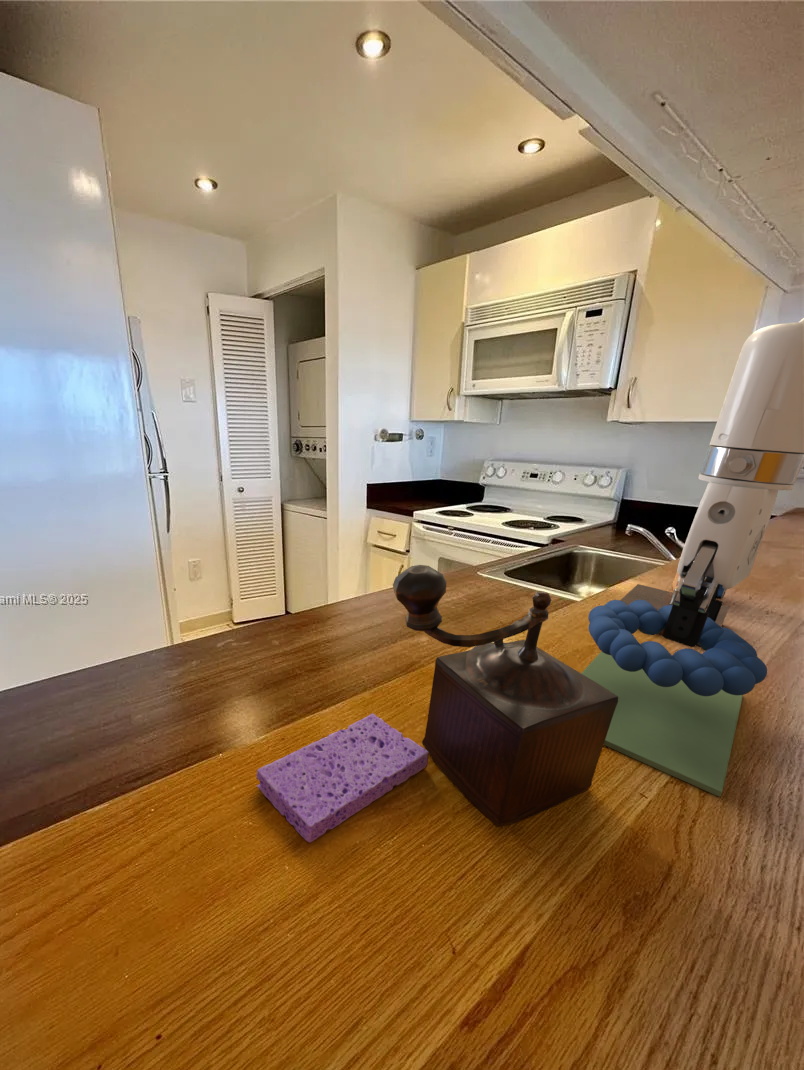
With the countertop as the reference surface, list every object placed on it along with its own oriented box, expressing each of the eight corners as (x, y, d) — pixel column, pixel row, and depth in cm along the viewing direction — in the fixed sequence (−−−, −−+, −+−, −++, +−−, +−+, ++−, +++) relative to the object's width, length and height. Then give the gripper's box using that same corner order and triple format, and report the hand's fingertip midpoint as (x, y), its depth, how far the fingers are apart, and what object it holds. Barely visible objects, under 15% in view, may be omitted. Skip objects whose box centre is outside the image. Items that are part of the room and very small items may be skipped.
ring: (799, 713, 41) (813, 686, 40) (618, 692, 43) (626, 665, 42) (697, 623, 57) (705, 602, 56) (569, 610, 59) (574, 590, 58)
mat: (605, 649, 64) (606, 645, 64) (742, 695, 55) (744, 691, 55) (543, 717, 48) (544, 713, 48) (719, 797, 40) (722, 792, 39)
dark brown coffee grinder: (501, 715, 48) (537, 545, 42) (593, 790, 39) (659, 589, 33) (367, 755, 42) (384, 560, 35) (441, 856, 33) (484, 620, 26)
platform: (632, 599, 83) (641, 570, 81) (722, 623, 75) (735, 591, 73) (612, 620, 74) (621, 587, 72) (712, 650, 66) (726, 614, 64)
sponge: (427, 769, 40) (430, 751, 40) (307, 847, 33) (308, 827, 32) (371, 727, 45) (373, 711, 45) (255, 786, 37) (255, 768, 37)
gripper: (781, 478, 38) (703, 672, 45) (810, 471, 49) (744, 629, 56) (677, 466, 44) (622, 642, 50) (724, 462, 54) (673, 607, 61)
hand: (687, 633), depth 53 cm, fingers closed on ring, 4 cm apart
